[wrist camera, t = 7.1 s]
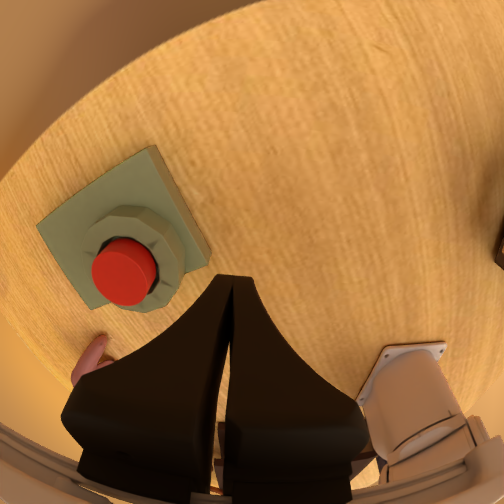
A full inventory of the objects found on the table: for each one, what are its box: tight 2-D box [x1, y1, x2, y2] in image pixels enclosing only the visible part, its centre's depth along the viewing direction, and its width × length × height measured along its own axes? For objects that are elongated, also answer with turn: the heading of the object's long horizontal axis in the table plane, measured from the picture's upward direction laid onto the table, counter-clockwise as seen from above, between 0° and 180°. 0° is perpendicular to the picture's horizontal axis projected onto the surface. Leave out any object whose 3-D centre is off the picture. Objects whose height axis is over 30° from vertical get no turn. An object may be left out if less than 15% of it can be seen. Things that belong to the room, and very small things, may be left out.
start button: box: [91, 238, 156, 306], centre depth 15 cm, size 4×4×2 cm
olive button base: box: [36, 145, 212, 313], centre depth 17 cm, size 11×9×4 cm
